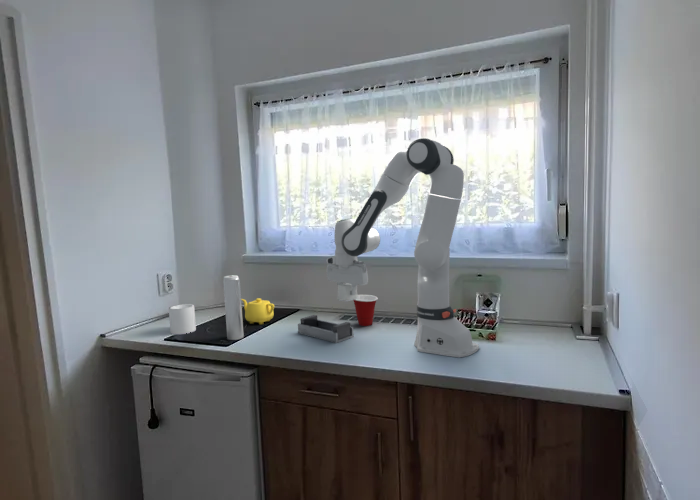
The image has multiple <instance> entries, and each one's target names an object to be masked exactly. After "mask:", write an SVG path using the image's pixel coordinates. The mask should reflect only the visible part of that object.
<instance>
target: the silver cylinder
mask: <svg viewBox="0 0 700 500" xmlns="http://www.w3.org/2000/svg"><path fill="white" fill-rule="evenodd" d="M222 283H223V296H224V298H223V299H224V308H225V309H224V311H225V322H226V323H225V325H226V337H227V338H226V339H227V340H228V341H237V340H241V339H243V338H244V337H245V335H244V322H243V321H244V320H243V308H242V307H243V305H242V300H241V299H242V293H241V292H242V291H241V279H240V277H239V276H238V275H232V274H231V275H225V276H223V279H222Z"/></svg>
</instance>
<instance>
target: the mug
mask: <svg viewBox="0 0 700 500" xmlns="http://www.w3.org/2000/svg"><path fill="white" fill-rule="evenodd" d="M195 311H196V310H195V305H194V304H192V303H181V304H176V305H172V306H170V307H168V316H169V328H170V329H169V330H170V334H172V335H186V333H187V334H190V332H191V333H194V332H195V331H196V330H197V323H196V312H195Z"/></svg>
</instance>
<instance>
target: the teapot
mask: <svg viewBox="0 0 700 500" xmlns="http://www.w3.org/2000/svg"><path fill="white" fill-rule="evenodd" d="M241 302H243V307H244V318H245V320H246V321H247V322H249V324H255V323H258V325H264V322H265V323H266V322H270V321H271V320H272V319H273V318H274V314H275V313H274V309H275V304H274V303H271V302H270V300H264V299H262V298H259V297H257V298H255V299H254V300H252V301H249V302H247V300H246V299H245V298H241Z"/></svg>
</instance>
